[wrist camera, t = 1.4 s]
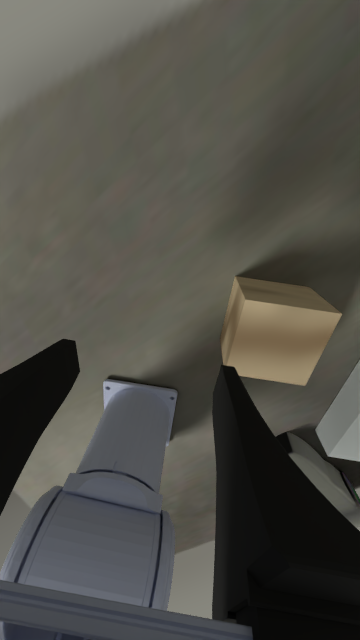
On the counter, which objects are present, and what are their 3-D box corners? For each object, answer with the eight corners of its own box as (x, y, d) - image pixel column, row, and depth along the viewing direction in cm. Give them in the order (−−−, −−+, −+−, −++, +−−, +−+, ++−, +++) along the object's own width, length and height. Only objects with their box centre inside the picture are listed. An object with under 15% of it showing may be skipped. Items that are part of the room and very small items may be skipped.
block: (283, 347, 21) (305, 385, 17) (219, 337, 21) (224, 373, 17) (308, 286, 18) (342, 313, 14) (235, 275, 19) (245, 299, 14)
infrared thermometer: (292, 418, 27) (360, 484, 30) (214, 457, 32) (281, 510, 35) (306, 455, 23) (384, 527, 26) (215, 493, 28) (290, 550, 31)
